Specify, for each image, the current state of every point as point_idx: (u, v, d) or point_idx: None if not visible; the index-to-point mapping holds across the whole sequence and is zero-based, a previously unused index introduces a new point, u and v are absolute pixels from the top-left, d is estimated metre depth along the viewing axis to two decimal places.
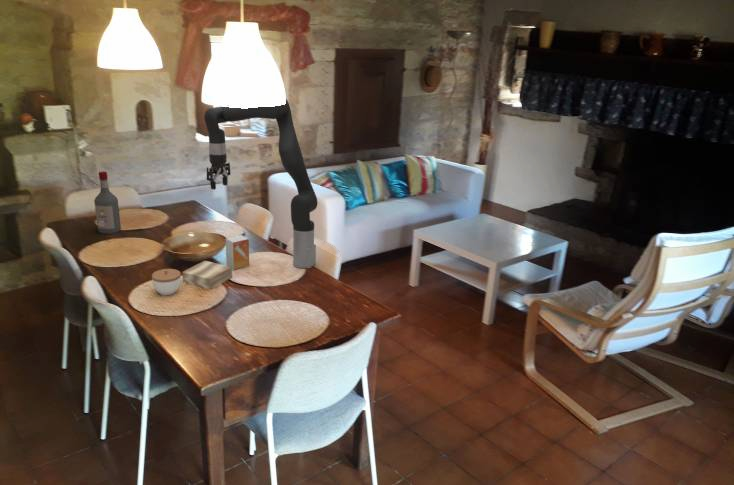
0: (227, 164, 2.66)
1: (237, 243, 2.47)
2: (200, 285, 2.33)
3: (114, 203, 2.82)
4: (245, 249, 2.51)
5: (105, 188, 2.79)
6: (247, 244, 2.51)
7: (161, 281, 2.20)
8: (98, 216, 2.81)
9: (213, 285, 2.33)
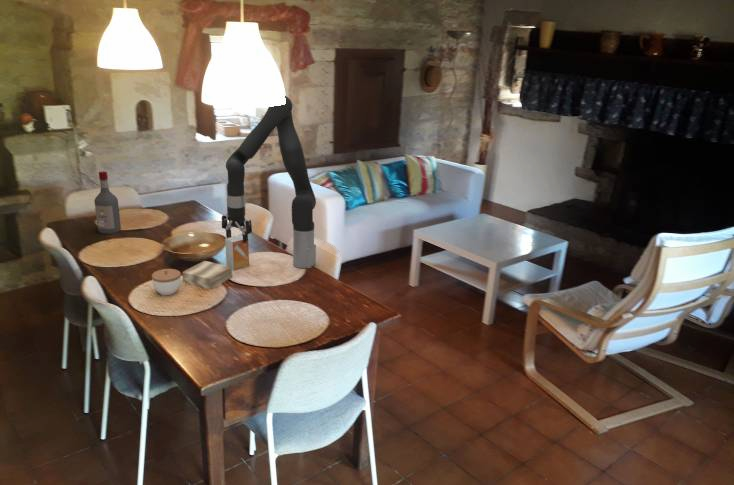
0: None
1: (237, 242, 2.47)
2: (200, 285, 2.33)
3: (114, 203, 2.82)
4: (244, 249, 2.51)
5: (105, 188, 2.79)
6: (247, 244, 2.51)
7: (161, 281, 2.20)
8: (98, 216, 2.81)
9: (214, 285, 2.33)
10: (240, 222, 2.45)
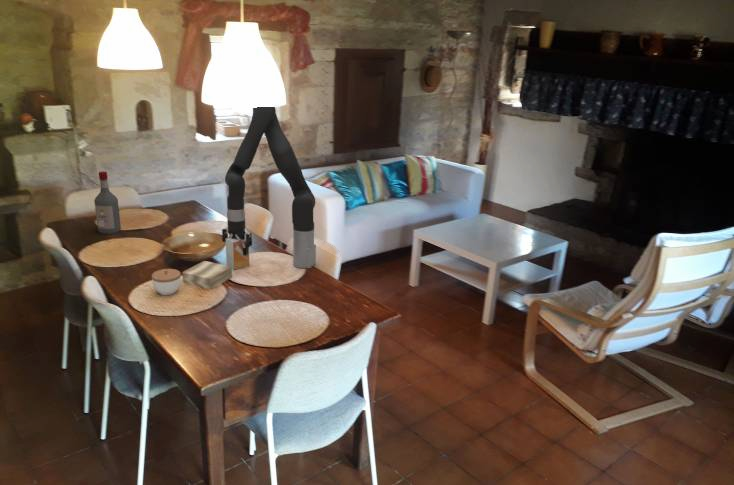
0: None
1: (237, 243, 2.47)
2: (200, 285, 2.33)
3: (114, 203, 2.82)
4: None
5: (105, 188, 2.79)
6: None
7: (161, 281, 2.20)
8: (98, 216, 2.81)
9: (214, 285, 2.33)
10: (240, 235, 2.47)
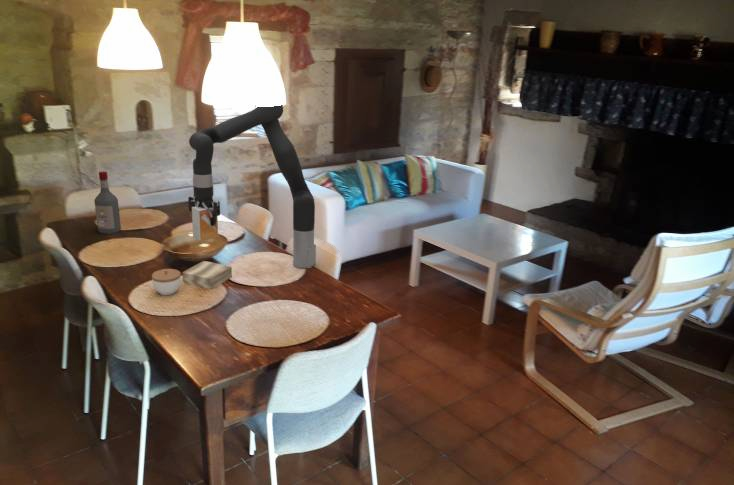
0: None
1: (204, 211, 2.26)
2: (201, 285, 2.33)
3: (114, 203, 2.82)
4: None
5: (105, 188, 2.79)
6: None
7: (161, 281, 2.20)
8: (98, 216, 2.81)
9: (214, 285, 2.33)
10: (207, 203, 2.27)
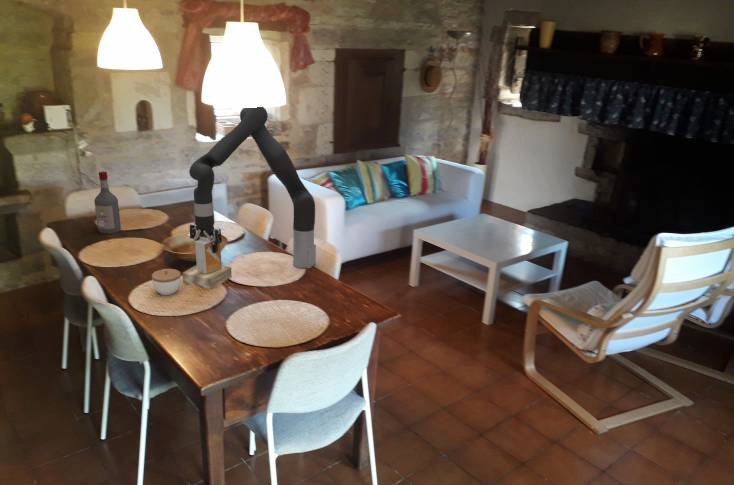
0: None
1: (208, 244, 2.31)
2: (201, 285, 2.33)
3: (114, 203, 2.82)
4: (217, 251, 2.35)
5: (105, 188, 2.79)
6: (219, 245, 2.35)
7: (161, 281, 2.20)
8: (98, 216, 2.81)
9: (214, 285, 2.33)
10: (209, 231, 2.30)
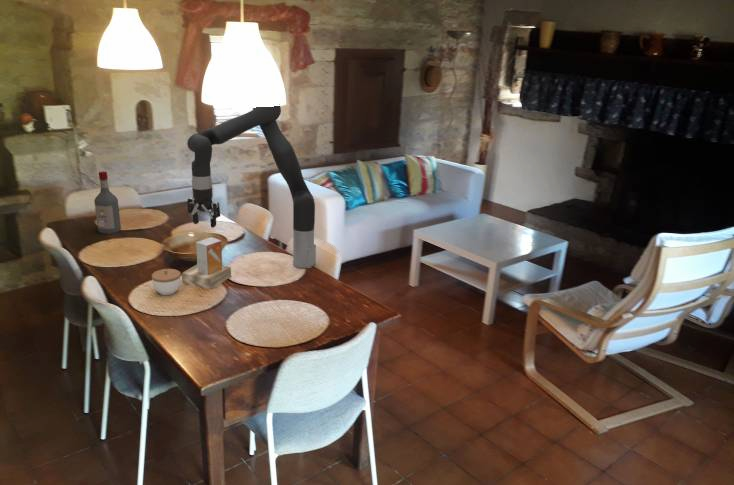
0: None
1: (210, 246, 2.30)
2: (200, 285, 2.33)
3: (114, 203, 2.82)
4: (218, 252, 2.34)
5: (105, 188, 2.79)
6: (220, 246, 2.35)
7: (161, 281, 2.20)
8: (98, 216, 2.81)
9: (214, 285, 2.33)
10: (207, 205, 2.26)
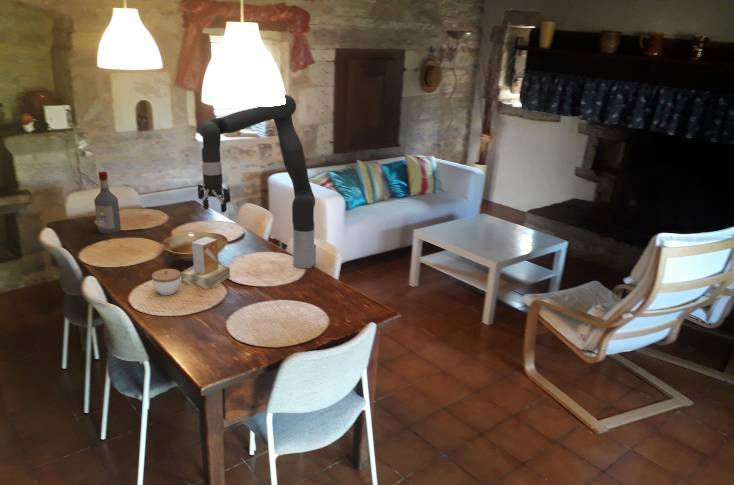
0: None
1: (207, 245, 2.30)
2: (199, 285, 2.33)
3: (114, 203, 2.82)
4: (214, 251, 2.35)
5: (105, 188, 2.79)
6: (216, 245, 2.35)
7: (161, 281, 2.20)
8: (98, 216, 2.81)
9: (213, 285, 2.33)
10: (217, 190, 2.31)
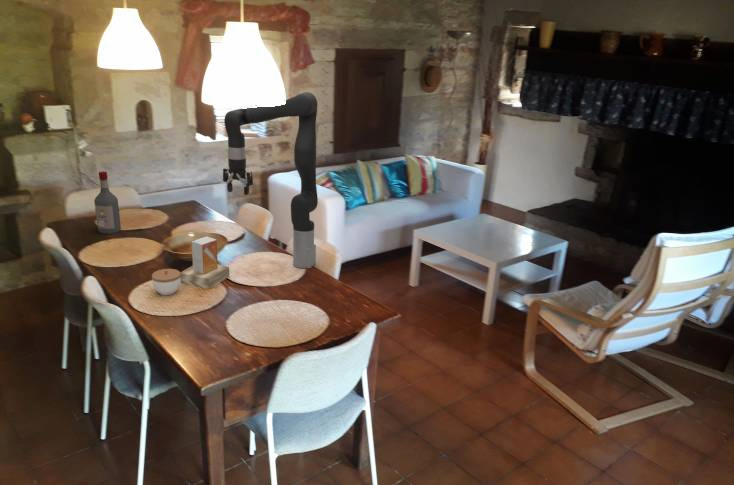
0: None
1: (206, 245, 2.31)
2: (199, 285, 2.33)
3: (114, 203, 2.82)
4: (213, 251, 2.35)
5: (105, 188, 2.79)
6: (215, 245, 2.35)
7: (161, 281, 2.20)
8: (98, 216, 2.81)
9: (212, 285, 2.33)
10: (241, 174, 2.49)
